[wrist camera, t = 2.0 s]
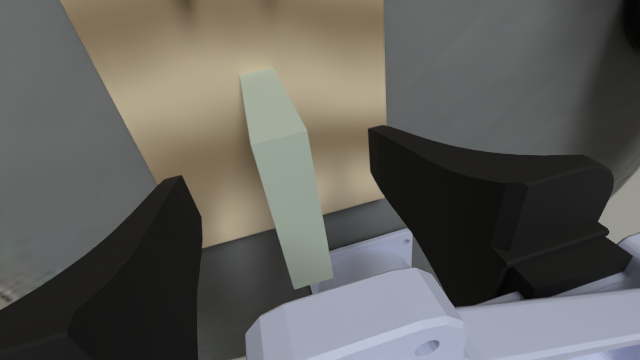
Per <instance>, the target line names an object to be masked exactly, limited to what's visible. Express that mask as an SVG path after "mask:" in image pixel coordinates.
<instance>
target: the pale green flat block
mask: <svg viewBox="0 0 640 360" xmlns="http://www.w3.org/2000/svg"><path fill="white" fill-rule="evenodd" d="M240 81H241V88H242V94H243V100H244V106H245V113H246V119H247V125H248V131H249V138H250V144H251V148H252V151H253V154H254V158H255V161H256V164H257V168H258V171H259V174H260V178H261V181H262V184H263V188H264V191H265V194H266V198H267V201H268V204H269V208H270V211H271V214H272V218H273V221H274V224H275V228H276V231H277V234H278V238H279V241H280V244H281V248H282V251H283V254H284V258H285V261H286V264H287V268H288V271H289V274H290V278H291V281H292V284H293V288H294V290H295V289H298V288H302V287H305V286H308V285H311V284H315V283H318V282H321V281H324V280H328V279H331V278H334V277H333V271H332V266H331V260H330V254H329V249H328V243H327V238H326V232H325V227H324V221H323V216H322V210H321V205H320V199H319V193H318V188H317V182H316V177H315V171H314V166H313V160H312V155H311V149H310V144H309V138H308V133H307V130H306V128H305V126H304V124H303V122H302V120H301V118H300V117H299V115H298V113H297V111H296V109H295V107H294V105H293V103H292V102H291V100H290V98H289V96H288V94H287V92H286V90H285V89H284V87H283V85H282V83H281V81H280V79H279V77H278V76H277V74H276V72H275V70H274V68H269V69H264V70H259V71H254V72H250V73H245V74H240Z"/></svg>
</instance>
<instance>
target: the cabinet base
mask: <svg viewBox="0 0 640 360" xmlns="http://www.w3.org/2000/svg"><path fill="white" fill-rule="evenodd" d="M60 2H61V3H62V5H63V7H64V9H65V11H66V13H67V15H68V17H69V18H70V20H71V22H72V24H73V26H74V28H75V30H76V32H77V34H78V35H79V37H80V39H81V41H82V43H83V45H84V47H85V49H86V50H87V52H88V54H89V56H90V58H91V60H92V62H93V64H94V66H95V67H96V69H97V71H98V73H99V75H100V77H101V79H102V81H103V82H104V84H105V86H106V88H107V90H108V92H109V94H110V96H111V98H112V99H113V101H114V103H115V105H116V107H117V109H118V111H119V113H120V115H121V116H122V118H123V120H124V122H125V124H126V126H127V128H128V130H129V131H130V133H131V135H132V137H133V139H134V141H135V143H136V145H137V147H138V148H139V150H140V152H141V154H142V156H143V158H144V160H145V162H146V163H147V165H148V167H149V169H150V171H151V173H152V175H153V177H154V179H155V180H156V182H157V184H158V185H159V184H160V183H161V182H162V181H163V180H164V179H167V178H171V177H175V176H179V175H182V176H183V179H184V181H185V183H186V185H187V187H188V189H189V191H190V193H191V196H192V198H193V200H194V202H195V204H196V206H197V208H198V210H199V213H200V215H201V217H202V235H203V241H202V248H206V247H209V246H213V245H216V244H220V243H224V242H227V241H231V240H234V239H238V238H242V237H245V236H249V235H252V234H256V233H259V232H263V231H267V230H270V229H274V228H275V224H274V221H273V218H272V214H271V211H270V208H269V204H268V201H267V198H266V194H265V191H264V188H263V184H262V181H261V178H260V174H259V171H258V168H257V164H256V161H255V158H254V154H253V151H252V148H251V144H250V138H249V131H248V125H247V119H246V113H245V106H244V100H243V94H242V88H241V81H240V74H245V73H250V72H254V71H259V70H264V69H269V68H274V70H275V72H276V74H277V76H278V77H279V79H280V81H281V83H282V85H283V87H284V89H285V90H286V92H287V94H288V96H289V98H290V100H291V102H292V103H293V105H294V107H295V109H296V111H297V113H298V115H299V117H300V118H301V120H302V122H303V124H304V126H305V128H306V130H307V133H308V138H309V144H310V149H311V155H312V160H313V166H314V171H315V177H316V182H317V188H318V193H319V199H320V205H321V210H322V215H324V214H328V213H331V212H335V211H338V210H342V209H346V208H349V207H353V206H356V205H360V204H363V203H367V202H371V201H374V200H378V199H381V198H385V196H384V195H383V194H382V192H381V191H380V189H379V187H378V186H377V184H376V182H375V180H374V178H373V176H372V174H371V172H370V160H369V143H368V128H372V127H376V126H380V125H385V126H386V88H385V47H384V6H383V0H60Z"/></svg>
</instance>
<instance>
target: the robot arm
mask: <svg viewBox="0 0 640 360" xmlns="http://www.w3.org/2000/svg"><path fill="white" fill-rule="evenodd" d="M368 143H369V160H370V172H371V174H372V176H373V178H374V180H375V182H376V184H377V186H378V187H379V189H380V191H381V192H382V194H383V195H384V196H385V198H386V199H387V200H388V202H389V203H390V204H391V206H392V207H393V208H394V210H395V211H396V212H397V214H398V215H399V216H400V218H401V219H402V220H403V222H404V223H405V224H406V226H407V227H408V228H409V229H402V230H399V231H395V232H392V233H389V234H385V235H382V236H379V237H375V238H372V239H368V240H365V241H362V242H358V243H355V244H351V245H348V246H345V247H341V248H338V249H334V250H331V251H329V254H330V260H331V266H332V271H333V277H334V278H331V279H328V280H324V281H321V282H318V283H315V284H311V285H310V288H311V291H312V295H309V296H306V297H303V298H300V299H296V300H293V301H290V302H287V303H284V304H282V305H280V306H278V307H276V308H274V309H272V310H270V311H268V312H266V313H264V314H262V315H261V316H260V317H259V318H258V319H257V320H256V322H255V323H254V324H253V325H252V326H251V328H250V329H249V330H248V331H247V332H246V334H245V342H246V360H640V232H639V233H637V234H633V235H630V236H628V237H626V238H624V239H622V240H621V241H620V242H618V243H617V244H615V243H614V242H612V241H611V240H609V239H608V238H606V237H605V236H607V235H608V234H609V230H608V228H606V227H605V226H603V225H601V224H600V223H599V222H598V220H599V218H600V216H601V214H602V212H603V210H604V208H605V206H606V204H607V202H608V200H609V198H610V195H611V192H612V190H613V182H614V178H613V174H612V172H611V170H610V169H609V168H607V167H606V166H604V165H602V164H600V163H598V162H596V161H594V160H592V159H590V158H588V157H586V156H584V155H549V156H538V155H514V154H501V153H492V152H484V151H477V150H471V149H466V148H460V147H455V146H451V145H447V144H443V143H439V142H436V141H432V140H429V139H426V138H422V137H419V136H416V135H413V134H410V133H407V132H404V131H402V130H399V129H396V128H392V127H389V126H385V125H380V126H376V127H372V128H368ZM412 234H413V235H412ZM412 236H414V237H415V239H416V240H417V242H418V244H419V246H420V247H421V249H422V251H423V252H424V254H425V256H426V258H427V259H428V261H429V263H430V265H431V267H432V268H433V270H434V272H435V274H436V276H437V278H438V279H439V281H440V283H441V285H442V287H443V289H444V291H445V293H446V295H447V296H446V295H445V293H444V292H443V290H442V289H441V288H440V286H439V285H438V283H437V282H436V280H435V279H434V277H433V276H432V275H431V274H430V273H427V272H425V271H422V270H420V269H417V268H411V266H412ZM202 241H203V235H202V217H201V215H200V213H199V210H198V208H197V206H196V204H195V202H194V200H193V198H192V196H191V193H190V191H189V189H188V187H187V185H186V183H185V181H184V179H183V176H182V175H179V176H175V177H171V178H167V179H164V180H163V181H162V182H161V183H160V184H159V185H158V186H157V187H156V188H155V189H154V190H153V191H152V192H151V193H150V194H149V195H148V196H147V198H146V199H145V200H144V201H143V202H142V203H141V204H140V205H139V206H138V207H137V208H136V209H135V210H134V211H133V213H131V214H130V215H129V216H128V217H127V218H126V219H125V220H124V221H123V222H122V223H121V224H120V225H119V226H118V227H117V228H116V229H115V230H114V231H113V232H112V233H111V234H110V235H109V236H108V237H106V238H105V239H104V240H103V241H102V242H101V243H99V244H98V245H97V246H96V247H95V248H93V249H92V250H91V251H90V252H88V253H87V254H86V255H85V256H83V257H82V258H81V259H79V260H78V261H76V262H75V263H74V264H72V265H71V266H69V267H68V268H67V269H65V270H64V271H62V272H61V273H60V274H58V275H57V276H55V277H54V278H52V279H51V280H49V281H48V282H46V283H45V284H43V285H42V286H40V287H38V288H37V289H35V290H34V291H32V292H30V293H29V294H27V295H25V296H24V297H22V298H20V299H19V300H17V301H15V302H14V303H12V304H10V305H8V306H7V307H5V308H3V309H1V310H0V360H198V346H197V288H198V279H199V270H200V261H201V251H202ZM447 297H448V298H447Z"/></svg>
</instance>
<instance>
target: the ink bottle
mask: <svg viewBox="0 0 640 360" xmlns="http://www.w3.org/2000/svg"><path fill="white" fill-rule="evenodd" d="M625 23H626V31H627V35H628V38H629V40H630V42H631V44H632V46H633V47H634V48H635V49H636V50H637V51H638V52H639V53H640V0H628V3H627V8H626V17H625Z"/></svg>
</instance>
